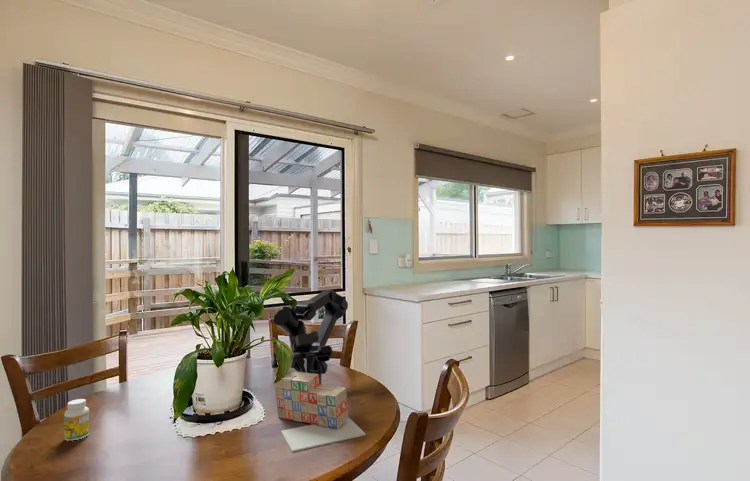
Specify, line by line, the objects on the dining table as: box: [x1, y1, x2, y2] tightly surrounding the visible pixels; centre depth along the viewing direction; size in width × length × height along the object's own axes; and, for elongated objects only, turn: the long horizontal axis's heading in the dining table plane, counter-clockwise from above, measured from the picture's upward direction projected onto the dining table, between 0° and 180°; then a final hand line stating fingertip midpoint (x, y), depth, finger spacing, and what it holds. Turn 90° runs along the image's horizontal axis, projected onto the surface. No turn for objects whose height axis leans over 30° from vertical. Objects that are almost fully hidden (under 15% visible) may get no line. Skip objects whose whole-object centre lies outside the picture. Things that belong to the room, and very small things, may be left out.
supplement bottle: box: [63, 398, 90, 441], centre depth 108 cm, size 5×5×10 cm
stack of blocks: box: [274, 370, 349, 429], centre depth 118 cm, size 21×6×12 cm, turn 62°
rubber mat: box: [280, 416, 367, 453], centre depth 109 cm, size 12×20×1 cm, turn 116°
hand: (307, 380), depth 122 cm, fingers closed
